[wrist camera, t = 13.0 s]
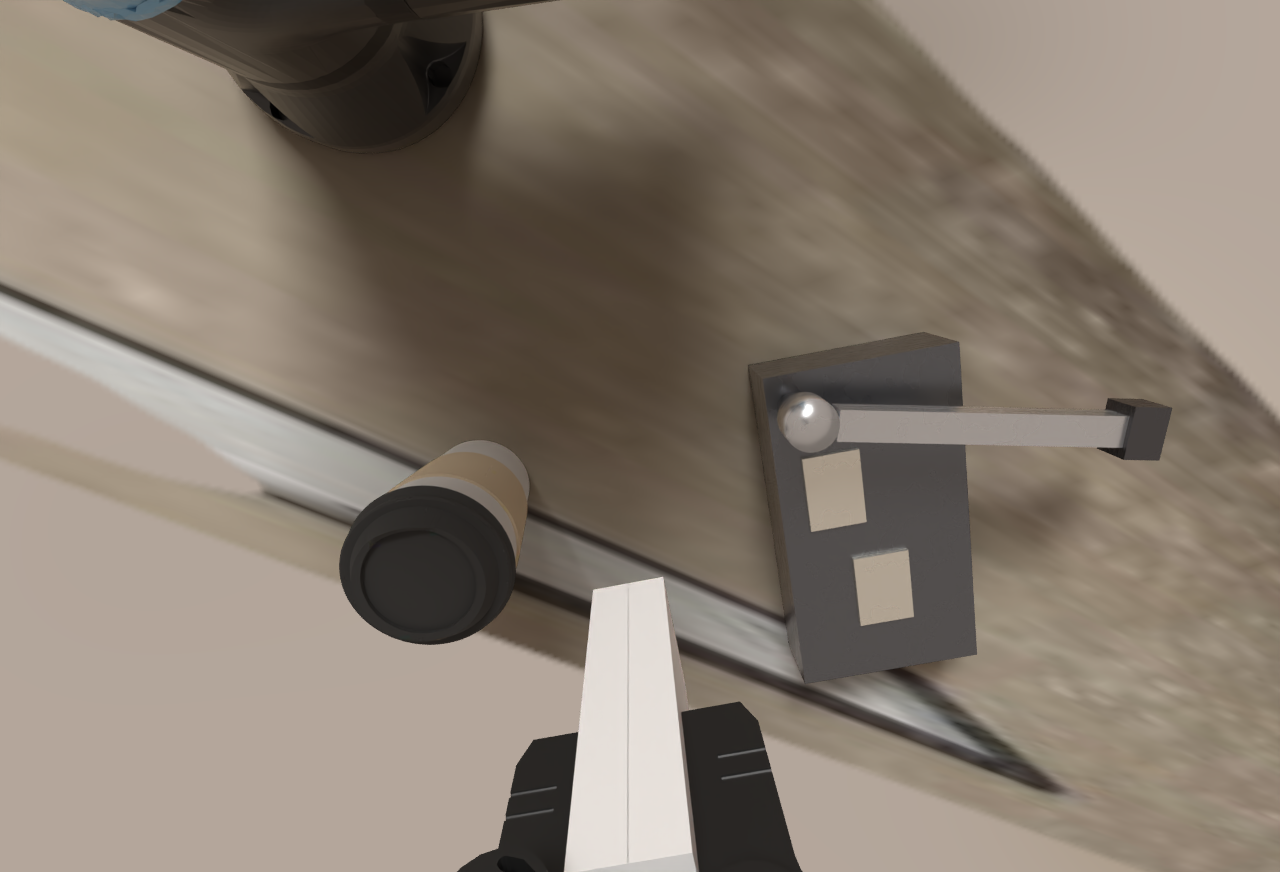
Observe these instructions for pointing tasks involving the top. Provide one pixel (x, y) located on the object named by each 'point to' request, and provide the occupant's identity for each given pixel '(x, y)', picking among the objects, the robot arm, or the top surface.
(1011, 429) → the grey long bar
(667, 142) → the top surface
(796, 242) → the top surface
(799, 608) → the lever switch
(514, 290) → the top surface
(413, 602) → the coffee cup
